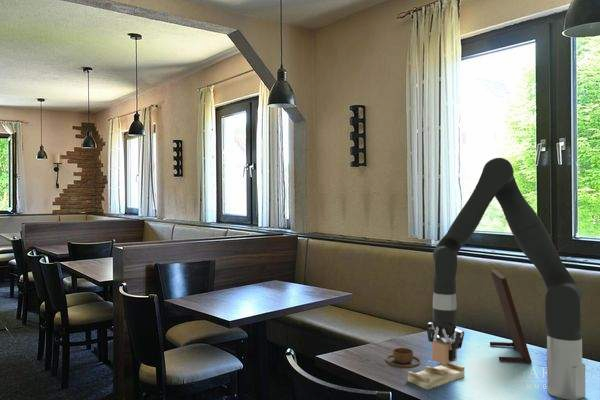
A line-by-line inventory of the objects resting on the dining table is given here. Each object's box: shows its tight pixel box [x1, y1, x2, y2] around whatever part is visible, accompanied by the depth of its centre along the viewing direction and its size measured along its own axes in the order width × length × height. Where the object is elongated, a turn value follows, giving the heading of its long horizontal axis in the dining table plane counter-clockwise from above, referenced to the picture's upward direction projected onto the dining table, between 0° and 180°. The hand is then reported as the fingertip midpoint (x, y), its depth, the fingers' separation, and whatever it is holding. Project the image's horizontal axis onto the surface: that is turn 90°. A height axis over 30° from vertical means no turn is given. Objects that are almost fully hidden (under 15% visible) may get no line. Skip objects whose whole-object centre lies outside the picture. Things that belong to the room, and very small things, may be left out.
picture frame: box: [489, 268, 533, 365], centre depth 182 cm, size 21×11×30 cm, turn 168°
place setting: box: [385, 347, 421, 368], centre depth 171 cm, size 18×20×6 cm
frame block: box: [431, 338, 458, 364], centre depth 160 cm, size 5×6×6 cm
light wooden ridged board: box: [407, 362, 465, 391], centre depth 157 cm, size 8×18×3 cm, turn 125°
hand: (444, 358), depth 160 cm, fingers closed on frame block, 5 cm apart
